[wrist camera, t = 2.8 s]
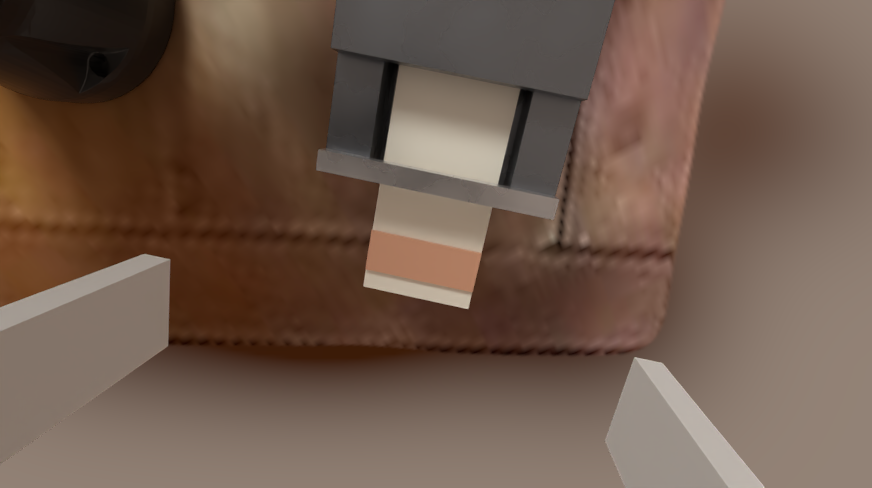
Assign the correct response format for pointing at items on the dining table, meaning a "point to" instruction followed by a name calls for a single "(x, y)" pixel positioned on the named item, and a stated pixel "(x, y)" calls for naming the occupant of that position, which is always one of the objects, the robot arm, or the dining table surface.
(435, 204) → the ticket
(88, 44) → the robot arm
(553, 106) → the dispenser
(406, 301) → the dining table surface
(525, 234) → the dining table surface
